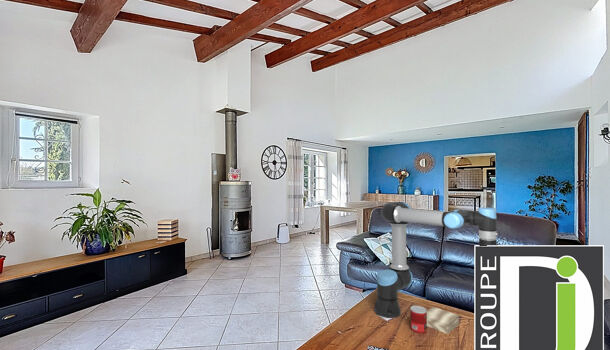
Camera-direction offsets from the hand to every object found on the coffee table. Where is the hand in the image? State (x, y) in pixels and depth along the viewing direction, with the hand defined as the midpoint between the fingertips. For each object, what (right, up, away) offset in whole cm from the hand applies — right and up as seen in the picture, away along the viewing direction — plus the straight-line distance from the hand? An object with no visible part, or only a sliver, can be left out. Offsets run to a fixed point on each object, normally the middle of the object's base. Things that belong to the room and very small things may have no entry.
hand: (488, 281), depth 140 cm
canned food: (-31, -29, +8) cm, 43 cm away
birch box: (-17, -28, +14) cm, 36 cm away
